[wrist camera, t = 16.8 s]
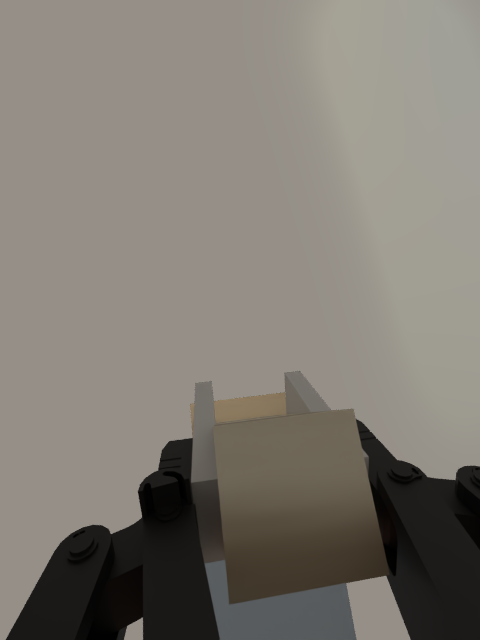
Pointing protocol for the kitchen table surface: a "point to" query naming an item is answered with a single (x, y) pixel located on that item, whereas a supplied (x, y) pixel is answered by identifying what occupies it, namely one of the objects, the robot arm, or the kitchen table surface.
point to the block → (292, 499)
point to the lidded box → (281, 612)
